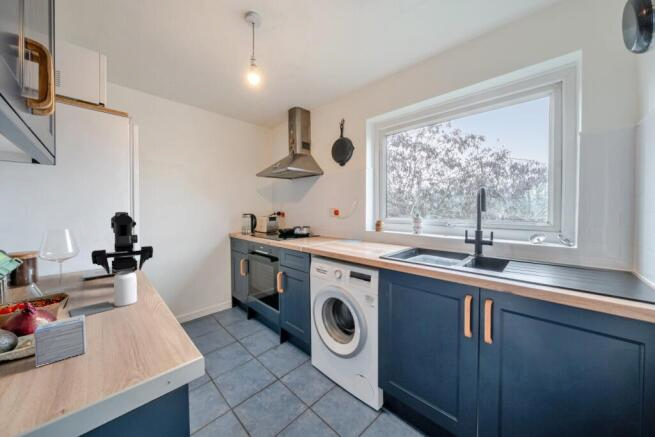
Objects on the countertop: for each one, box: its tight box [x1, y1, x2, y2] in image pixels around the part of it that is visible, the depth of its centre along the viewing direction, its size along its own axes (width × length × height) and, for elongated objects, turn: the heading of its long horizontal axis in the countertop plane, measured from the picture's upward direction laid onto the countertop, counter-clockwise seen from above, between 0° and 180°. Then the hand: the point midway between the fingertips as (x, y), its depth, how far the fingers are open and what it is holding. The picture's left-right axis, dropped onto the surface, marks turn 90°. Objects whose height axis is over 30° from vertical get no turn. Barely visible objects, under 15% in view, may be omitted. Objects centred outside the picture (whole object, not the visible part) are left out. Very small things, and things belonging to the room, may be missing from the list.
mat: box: [68, 301, 115, 318], centre depth 83 cm, size 10×10×1 cm
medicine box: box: [33, 315, 87, 367], centre depth 57 cm, size 8×4×9 cm, turn 135°
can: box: [113, 270, 138, 308], centre depth 88 cm, size 6×6×12 cm
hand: (124, 271), depth 92 cm, fingers open, 9 cm apart
